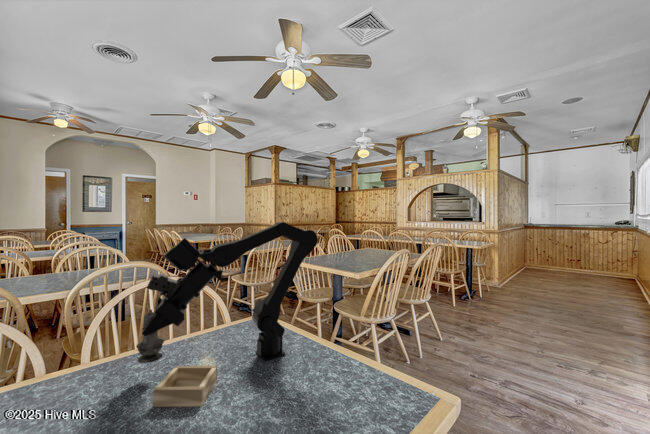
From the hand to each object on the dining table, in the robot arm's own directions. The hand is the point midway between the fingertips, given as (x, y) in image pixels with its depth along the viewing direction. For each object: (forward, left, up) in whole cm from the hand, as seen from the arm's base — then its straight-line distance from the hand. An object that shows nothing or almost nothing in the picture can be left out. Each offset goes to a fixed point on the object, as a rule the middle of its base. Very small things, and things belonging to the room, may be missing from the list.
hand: (144, 331), depth 71 cm
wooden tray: (-7, +12, -12) cm, 18 cm away
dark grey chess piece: (-1, 0, -7) cm, 7 cm away
